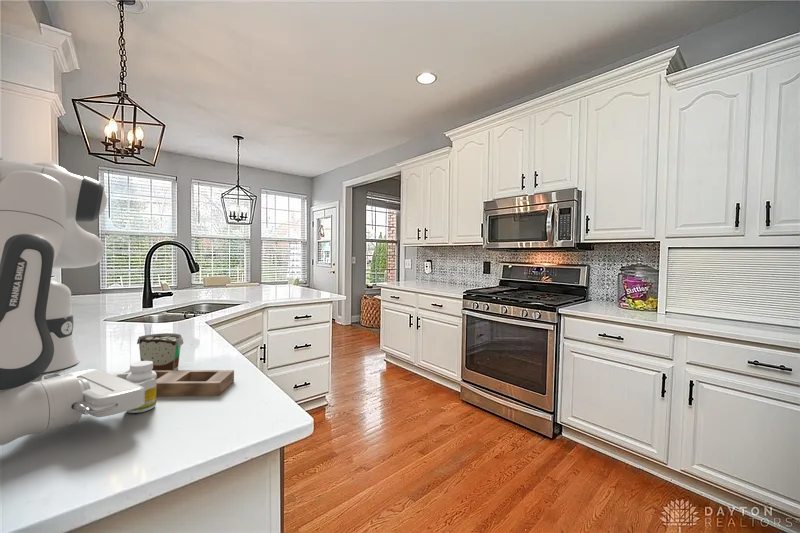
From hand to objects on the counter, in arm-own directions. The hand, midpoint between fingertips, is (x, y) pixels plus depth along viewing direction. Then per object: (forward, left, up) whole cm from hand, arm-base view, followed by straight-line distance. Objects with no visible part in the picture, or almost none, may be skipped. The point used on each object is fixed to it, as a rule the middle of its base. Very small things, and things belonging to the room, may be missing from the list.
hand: (146, 378), depth 76 cm
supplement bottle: (-1, -1, -6) cm, 6 cm away
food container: (-9, +25, -7) cm, 28 cm away
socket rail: (0, +11, -6) cm, 13 cm away
